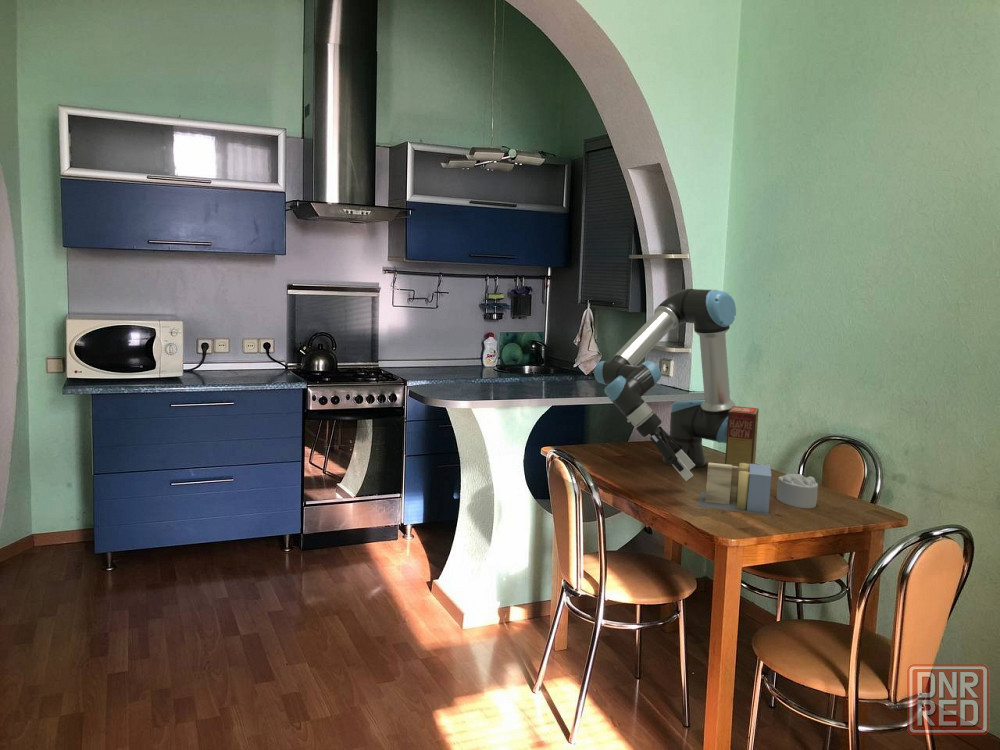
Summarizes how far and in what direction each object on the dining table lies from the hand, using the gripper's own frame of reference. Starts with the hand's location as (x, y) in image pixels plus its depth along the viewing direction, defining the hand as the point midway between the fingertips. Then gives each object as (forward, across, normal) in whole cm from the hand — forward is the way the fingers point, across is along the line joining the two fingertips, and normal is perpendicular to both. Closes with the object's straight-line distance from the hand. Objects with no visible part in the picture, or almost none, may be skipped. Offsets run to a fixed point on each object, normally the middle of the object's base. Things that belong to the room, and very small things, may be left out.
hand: (691, 473), depth 254 cm
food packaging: (+16, -28, +4) cm, 32 cm away
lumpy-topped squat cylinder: (+29, -9, +17) cm, 34 cm away
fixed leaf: (+19, 0, +8) cm, 20 cm away
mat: (+15, 0, +3) cm, 15 cm away
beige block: (+13, 0, +2) cm, 13 cm away
